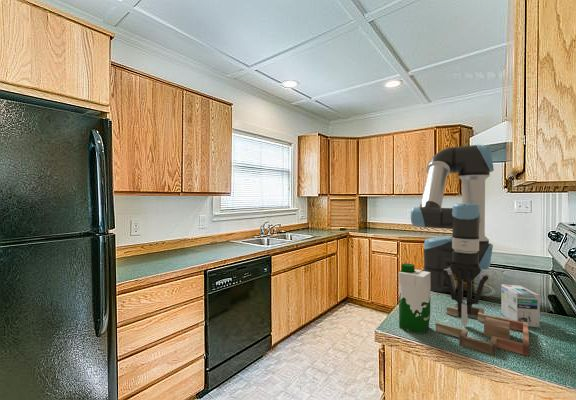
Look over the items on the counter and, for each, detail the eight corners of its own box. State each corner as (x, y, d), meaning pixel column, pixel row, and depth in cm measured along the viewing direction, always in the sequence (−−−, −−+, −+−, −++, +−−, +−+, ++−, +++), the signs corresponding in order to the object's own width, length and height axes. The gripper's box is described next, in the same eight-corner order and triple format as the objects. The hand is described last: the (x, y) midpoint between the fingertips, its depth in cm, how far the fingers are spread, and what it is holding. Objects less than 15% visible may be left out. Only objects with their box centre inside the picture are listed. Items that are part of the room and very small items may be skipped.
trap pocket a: (456, 310, 109) (456, 303, 109) (483, 316, 103) (483, 309, 103) (454, 314, 105) (454, 307, 105) (482, 320, 99) (482, 313, 99)
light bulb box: (540, 328, 94) (540, 294, 94) (516, 326, 95) (517, 293, 95) (521, 314, 105) (521, 285, 104) (500, 313, 106) (500, 283, 106)
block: (486, 329, 93) (486, 317, 93) (509, 335, 90) (509, 322, 90) (483, 336, 89) (484, 323, 89) (508, 342, 85) (508, 329, 85)
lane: (447, 312, 106) (447, 306, 106) (527, 331, 92) (527, 323, 92) (435, 331, 92) (435, 323, 92) (528, 356, 77) (529, 346, 77)
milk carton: (404, 319, 101) (405, 261, 100) (433, 326, 95) (433, 265, 95) (395, 327, 94) (395, 266, 94) (425, 336, 88) (425, 270, 88)
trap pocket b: (462, 338, 87) (462, 329, 87) (496, 347, 82) (496, 338, 82) (459, 345, 83) (459, 336, 83) (495, 355, 78) (495, 345, 78)
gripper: (440, 250, 95) (440, 321, 96) (488, 255, 88) (488, 333, 88) (444, 247, 101) (444, 314, 102) (490, 251, 93) (489, 324, 94)
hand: (464, 322), depth 95 cm, fingers closed
